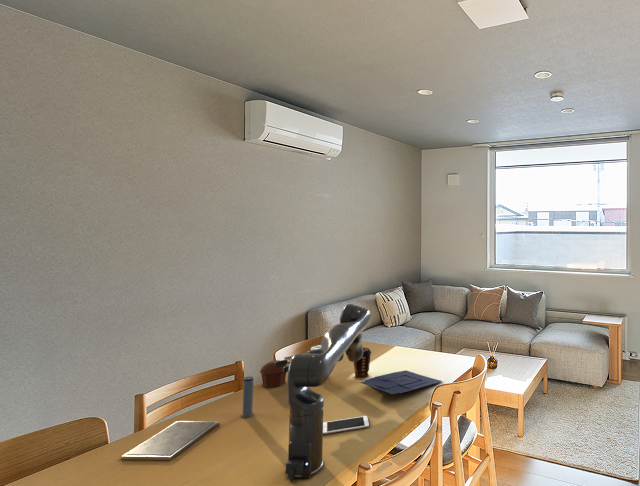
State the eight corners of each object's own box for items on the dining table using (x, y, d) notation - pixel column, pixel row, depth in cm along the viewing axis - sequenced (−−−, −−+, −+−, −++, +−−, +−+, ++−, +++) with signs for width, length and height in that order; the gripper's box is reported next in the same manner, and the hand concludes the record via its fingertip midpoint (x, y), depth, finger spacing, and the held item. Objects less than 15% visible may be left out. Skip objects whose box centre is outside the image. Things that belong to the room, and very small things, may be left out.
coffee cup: (363, 372, 193) (364, 345, 193) (374, 376, 188) (375, 348, 188) (348, 377, 186) (349, 349, 186) (359, 381, 181) (360, 353, 181)
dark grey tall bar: (249, 417, 146) (250, 379, 146) (240, 417, 146) (241, 379, 146) (254, 413, 149) (255, 376, 149) (245, 413, 149) (246, 376, 149)
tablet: (170, 460, 118) (170, 456, 118) (121, 459, 118) (121, 455, 119) (218, 424, 140) (218, 421, 140) (177, 423, 140) (177, 420, 140)
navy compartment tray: (355, 388, 170) (356, 379, 171) (404, 375, 194) (405, 368, 195) (395, 402, 156) (396, 393, 157) (442, 387, 181) (443, 379, 181)
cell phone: (320, 424, 141) (320, 422, 141) (367, 417, 146) (367, 415, 146) (320, 435, 133) (320, 433, 133) (369, 427, 139) (369, 425, 139)
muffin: (289, 377, 185) (289, 356, 185) (287, 386, 174) (288, 364, 175) (261, 381, 180) (261, 359, 181) (257, 390, 170) (257, 367, 170)
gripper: (311, 345, 173) (272, 354, 161) (327, 352, 163) (287, 361, 151) (310, 363, 172) (272, 372, 160) (326, 370, 163) (286, 381, 151)
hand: (279, 367), depth 156 cm, fingers open, 8 cm apart
